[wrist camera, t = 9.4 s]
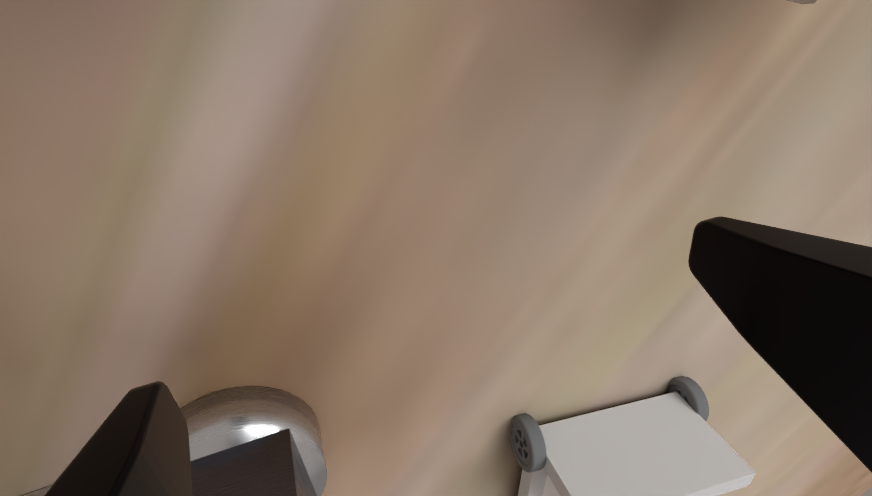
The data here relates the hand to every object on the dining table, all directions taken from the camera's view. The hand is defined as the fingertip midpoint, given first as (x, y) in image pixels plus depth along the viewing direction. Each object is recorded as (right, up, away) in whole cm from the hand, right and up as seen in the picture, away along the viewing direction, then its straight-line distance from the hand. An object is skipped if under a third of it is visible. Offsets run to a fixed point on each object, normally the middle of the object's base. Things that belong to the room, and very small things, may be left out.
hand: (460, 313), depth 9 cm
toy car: (+9, -15, +27) cm, 32 cm away
